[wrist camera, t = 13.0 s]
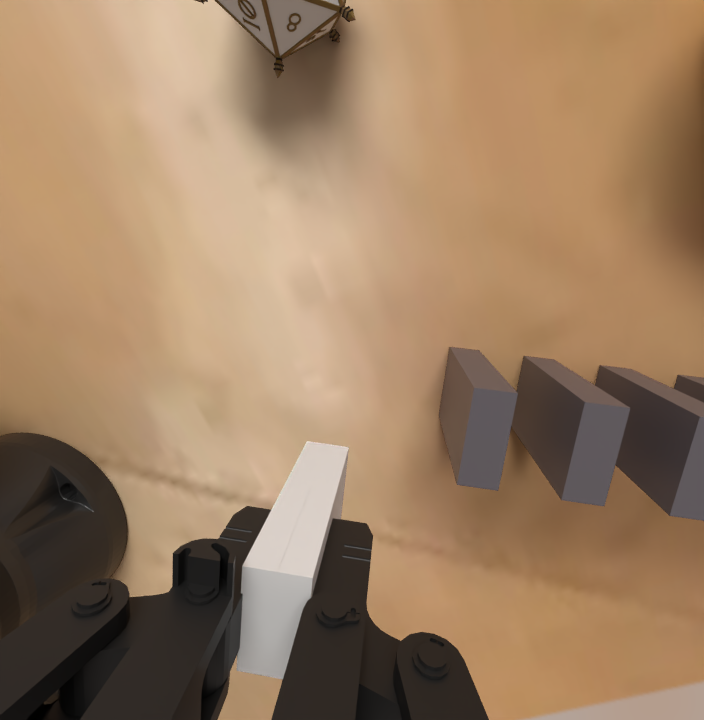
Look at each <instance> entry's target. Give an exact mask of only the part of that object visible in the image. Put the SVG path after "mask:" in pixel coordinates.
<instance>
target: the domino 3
mask: <svg viewBox="0 0 704 720" xmlns="http://www.w3.org/2000/svg"><path fill="white" fill-rule="evenodd" d="M595 386H597V387H598V388H600V389H601V390H603V391H604V392H606V393H608V394H609V395H611V396H612V397H614V398H616V399H617V400H619V401H620V402H622V403H623V404H625V405H627V406H628V407H630V412H629V415H628V419H627V423H626V427H625V430H624V434H623V438H622V442H621V445H620V449H619V453H618V457H617V460H616V464H615V465H616V466H617V467H618V468H619V469H620V470H621V471H622V472H624V473H625V474H626V475H627V476H628V477H629V478H630V479H631V480H632V481H633V482H634V483H635V484H636V485H637V486H638V487H640V488H641V489H642V490H643V491H644V492H645V493H646V494H647V495H648V496H649V497H650V498H651V499H652V500H653V501H654V502H656V503H657V504H658V505H659V506H660V507H661V508H662V509H663V510H664V511H665V512H666V513H667V514H668V515H669V516H675V517H682V518H689V519H696V520H703V521H704V403H703V402H701V401H699V400H697V399H695V398H693V397H690V396H688V395H686V394H684V393H682V392H680V391H677V390H675V389H673V388H671V387H669V386H667V385H665V384H662V383H660V382H658V381H656V380H654V379H652V378H649V377H647V376H645V375H643V374H641V373H639V372H636V371H634V370H632V369H627V368H619V367H611V366H603V365H600V367H599V371H598V375H597V379H596V383H595Z"/></svg>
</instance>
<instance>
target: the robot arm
mask: <svg viewBox="0 0 704 720" xmlns="http://www.w3.org/2000/svg"><path fill="white" fill-rule="evenodd" d="M348 451H349V447H344V446H337V445H331V444H324V443H317V442H310V441H307V442H306V444H305V446H304V448H303V450H302V452H301V454H300V456H299V458H298V460H297V461H296V463H295V465H294V467H293V469H292V471H291V473H290V475H289V477H288V479H287V481H286V483H285V485H284V487H283V489H282V490H281V492H280V494H279V496H278V498H277V500H276V502H275V504H274V506H273V508H272V510H269V509H263V508H257V507H250V506H246V507H245V508H243V509H242V510H240V511H239V512H237V513H236V514H234V515H233V517H232V518H231V520H230V521H229V523H228V524H227V526H226V529H224V531H223V532H222V534H221V535H220V538H218V539H199V540H194V541H191V542H189V543H187V544H184V545H182V546H181V547H179V548H178V549H177V550H176V551H175V552H174V553H173V587H172V588H171V589H170V591H169V592H167V593H164V594H159V595H153V596H141V597H130V598H129V591H128V588H127V586H126V585H125V584H124V583H122V582H121V581H119V580H114V579H110V578H109V577H110V576H111V575H112V574H113V573H114V572H115V570H116V569H117V567H118V566H119V564H120V562H121V560H122V557H123V555H124V551H125V547H126V540H127V526H126V519H125V514H124V510H123V507H122V504H121V502H120V499H119V497H118V495H117V493H116V491H115V489H114V488H113V486H112V484H111V483H110V481H109V480H108V479H107V477H106V476H105V475H104V473H103V472H102V471H101V470H100V469H99V468H98V467H97V466H96V465H95V464H94V463H93V462H92V461H91V460H90V459H89V458H87V457H86V456H85V455H84V454H82V453H81V452H79V451H78V450H76V449H75V448H73V447H71V446H69V445H68V444H66V443H64V442H61V441H59V440H56V439H54V438H51V437H48V436H44V435H39V434H32V433H12V434H6V435H2V436H0V720H217V719H218V717H219V714H220V712H221V709H222V707H223V704H224V701H225V699H226V696H227V693H228V687H229V677H230V670H231V668H232V665H233V663H234V660H235V658H236V656H237V671H241V672H247V673H252V674H257V675H262V676H268V677H273V678H278V679H283V681H282V685H281V688H280V692H279V695H278V699H277V702H276V706H275V709H274V713H273V716H272V720H489V719H488V716H487V714H486V712H485V709H484V707H483V704H482V702H481V700H480V697H479V695H478V692H477V690H476V688H475V685H474V683H473V680H472V678H471V675H470V673H469V671H468V668H467V666H466V663H465V661H464V659H463V658H462V656H461V654H460V653H459V651H458V650H457V648H455V647H454V646H453V645H452V644H451V643H450V642H449V641H447V640H446V639H444V638H442V637H440V636H438V635H435V634H432V633H425V632H419V633H414V634H410V635H408V636H407V637H406V638H404V639H403V640H402V641H400V640H398V639H396V638H393V637H391V636H390V635H388V634H386V633H385V632H383V631H381V630H380V629H379V628H378V627H377V626H376V625H375V624H374V623H373V621H372V620H371V618H370V617H369V614H368V611H367V605H366V601H367V591H368V581H369V571H370V560H371V550H372V540H373V535H372V533H371V531H370V529H369V527H368V525H367V524H366V523H360V522H353V521H347V520H341V513H342V504H343V495H344V486H345V477H346V468H347V460H348ZM237 653H238V654H237Z"/></svg>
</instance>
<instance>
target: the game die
mask: <svg viewBox="0 0 704 720" xmlns="http://www.w3.org/2000/svg"><path fill="white" fill-rule="evenodd" d="M196 1H199V2H202V3H203V2H205V1H207V0H196ZM215 1H216V2H217V3H218V4H219V5H220V6H221V7H222V8H223V9H224V10H225V11H226V12H227V13H229V14H230V15H231V16H232V17H233V18H234V19H235V20H236V21H237V22H238V23H239V24H240V25H241V26H242V27H243V28H244V29H245V30H246V31H248V32H249V33H250V34H251V35H252V36H253V37H254V38H255V39H256V40H257V41H258V42H259V43H260V44H261V45H262V46H263V47H264V48H266V49H267V50H268V51H269V52H270V53H271V54H272V55H273V56H274V57H275V58H276V62H275V63H274V65H275V68H274V70H275V73H276V75H277V78H278V77H279V76H280V74H281V73H282V71H284V70H283V67H284V65H283V64H282V59H284V58H285V57H287V56H289V55H291V54H293V53H294V52H296V51H298V50H300V49H301V48H303V47H305V46H307V45H309V44H310V43H312V42H314V41H316V40H318V39H319V38H321V37H323V36H325V35H326V34H328V33H329V35H330V38H331V39H332V41H336V42H339V36H340V35H339V33H338V32H337V31H336V30H335V29H333V28H334V26H335V24H336V23H337V21H338V19H339V17H340V16H341V14H342V17H343V18H345V19H346V20H347V21H348V22H350V21H352V20H355V16H354V13H353V9H350V7H349V6H348V7H345V3H346V0H215ZM207 2H208V1H207ZM203 4H204V3H203Z"/></svg>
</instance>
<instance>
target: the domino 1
mask: <svg viewBox="0 0 704 720" xmlns="http://www.w3.org/2000/svg"><path fill="white" fill-rule="evenodd" d="M517 395H518V393H517V392H516V391H515V390H514V388H513V387H512V386H511V385H510V384H509V383H508V382H507V381H506V380H505V378H504V377H503V376H502V375H501V374H500V373H499V372H498V371H497V370H496V369H495V367H494V366H493V365H492V364H491V363H490V362H489V361H488V360H487V359H486V357H485V356H484V355H483V354H482V353H481V352H480V351H479V350H472V349H464V348H455V347H450V348H449V354H448V360H447V366H446V373H445V379H444V385H443V391H442V398H441V404H440V410H439V418H440V422H441V426H442V430H443V434H444V437H445V441H446V445H447V449H448V453H449V456H450V460H451V464H452V468H453V472H454V475H455V479H456V483H457V485H462V486H469V487H476V488H483V489H490V490H497V491H498V489H499V484H500V480H501V475H502V470H503V465H504V460H505V455H506V450H507V445H508V440H509V435H510V430H511V425H512V420H513V415H514V410H515V405H516V400H517Z"/></svg>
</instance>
